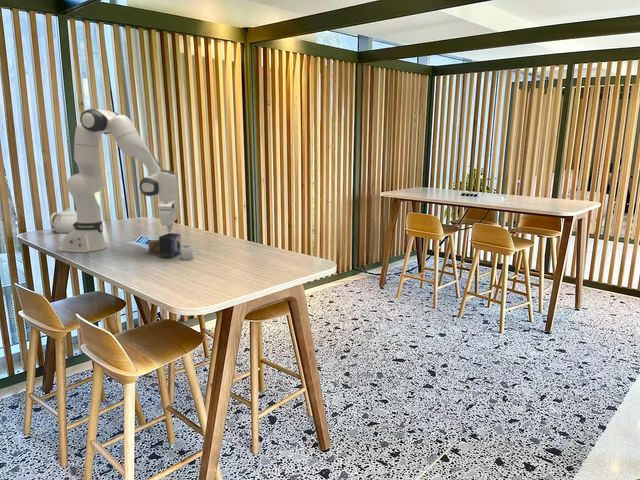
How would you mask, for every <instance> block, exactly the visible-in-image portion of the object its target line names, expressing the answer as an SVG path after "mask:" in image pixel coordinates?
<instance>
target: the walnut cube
mask: <svg viewBox="0 0 640 480" xmlns="http://www.w3.org/2000/svg"><path fill="white" fill-rule="evenodd" d="M147 242H148V255H159V239H149V240H148V241H147Z"/></svg>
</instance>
